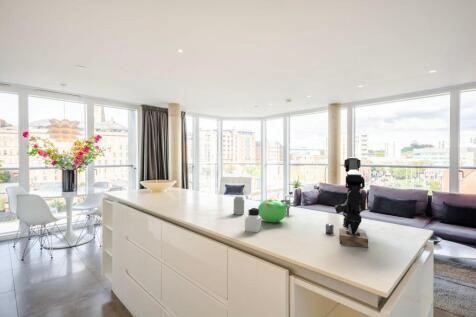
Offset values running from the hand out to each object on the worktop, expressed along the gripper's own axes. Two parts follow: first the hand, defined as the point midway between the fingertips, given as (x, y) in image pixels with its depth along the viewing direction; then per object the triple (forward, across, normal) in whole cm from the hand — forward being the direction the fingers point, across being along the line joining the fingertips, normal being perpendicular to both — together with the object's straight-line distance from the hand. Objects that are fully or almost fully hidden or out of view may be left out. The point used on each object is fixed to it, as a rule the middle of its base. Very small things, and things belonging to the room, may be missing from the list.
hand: (353, 231), depth 118 cm
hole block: (+5, 0, 0) cm, 5 cm away
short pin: (+5, -9, -11) cm, 15 cm away
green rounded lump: (+5, -16, -45) cm, 48 cm away
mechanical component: (+5, -41, -41) cm, 58 cm away
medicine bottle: (+5, +5, -50) cm, 51 cm away
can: (+5, -25, -72) cm, 77 cm away
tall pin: (+5, 0, 0) cm, 5 cm away
